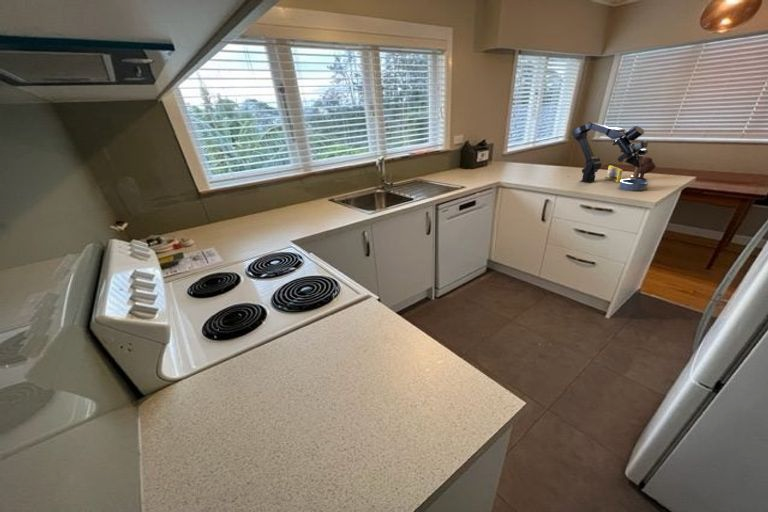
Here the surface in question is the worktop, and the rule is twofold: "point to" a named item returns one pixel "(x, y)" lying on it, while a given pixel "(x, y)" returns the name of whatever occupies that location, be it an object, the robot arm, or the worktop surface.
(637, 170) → the stirring stick
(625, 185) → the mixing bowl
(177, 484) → the worktop surface
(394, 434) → the worktop surface
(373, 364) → the worktop surface
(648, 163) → the brown tree model
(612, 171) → the candy box
